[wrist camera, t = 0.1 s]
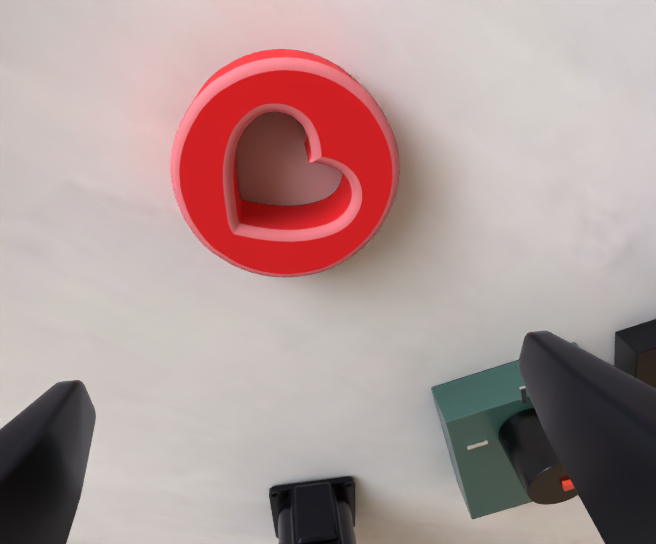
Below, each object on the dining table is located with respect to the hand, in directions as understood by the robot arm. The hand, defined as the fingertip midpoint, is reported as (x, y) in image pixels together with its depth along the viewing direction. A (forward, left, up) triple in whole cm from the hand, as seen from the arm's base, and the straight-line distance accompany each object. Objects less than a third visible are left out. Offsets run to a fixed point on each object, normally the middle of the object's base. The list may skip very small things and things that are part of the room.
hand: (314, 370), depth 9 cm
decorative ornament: (0, 0, -15) cm, 15 cm away
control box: (-21, -15, -15) cm, 30 cm away
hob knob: (-18, -14, -12) cm, 26 cm away
